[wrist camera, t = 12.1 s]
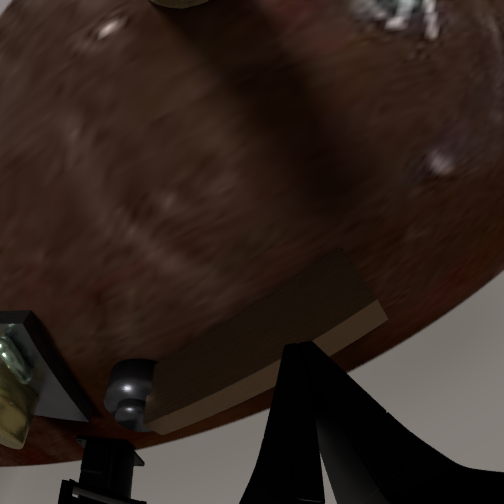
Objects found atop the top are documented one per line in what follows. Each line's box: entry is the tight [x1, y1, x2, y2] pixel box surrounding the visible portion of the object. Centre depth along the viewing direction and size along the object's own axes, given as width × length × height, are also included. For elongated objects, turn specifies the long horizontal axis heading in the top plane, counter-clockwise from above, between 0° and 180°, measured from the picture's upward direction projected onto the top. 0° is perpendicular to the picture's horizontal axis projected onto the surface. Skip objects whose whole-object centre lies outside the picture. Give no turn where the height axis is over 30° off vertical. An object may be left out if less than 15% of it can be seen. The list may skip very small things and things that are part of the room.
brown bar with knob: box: [104, 246, 388, 435], centre depth 18 cm, size 20×5×5 cm, turn 127°
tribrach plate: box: [0, 310, 92, 449], centre depth 18 cm, size 12×12×6 cm
